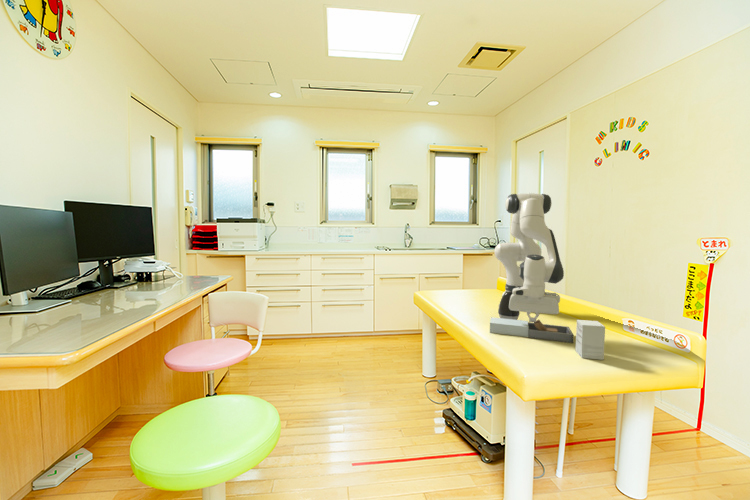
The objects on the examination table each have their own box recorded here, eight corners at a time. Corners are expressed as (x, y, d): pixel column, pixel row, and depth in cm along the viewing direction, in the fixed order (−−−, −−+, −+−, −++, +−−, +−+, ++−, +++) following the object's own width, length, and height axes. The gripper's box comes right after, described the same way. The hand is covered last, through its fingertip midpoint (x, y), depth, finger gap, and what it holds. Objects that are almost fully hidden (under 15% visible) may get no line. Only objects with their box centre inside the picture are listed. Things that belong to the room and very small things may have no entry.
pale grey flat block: (490, 326, 159) (490, 317, 159) (526, 330, 153) (527, 320, 153) (489, 332, 150) (489, 322, 149) (528, 337, 144) (528, 326, 143)
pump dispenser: (515, 318, 174) (516, 289, 172) (522, 323, 163) (523, 293, 162) (495, 317, 175) (496, 289, 173) (501, 323, 164) (502, 293, 163)
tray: (526, 329, 154) (527, 322, 154) (568, 334, 147) (568, 326, 147) (528, 337, 143) (528, 329, 142) (573, 343, 136) (573, 334, 136)
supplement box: (596, 353, 126) (598, 320, 125) (603, 360, 119) (605, 326, 118) (574, 350, 128) (576, 319, 127) (580, 358, 121) (582, 324, 120)
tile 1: (533, 322, 149) (538, 319, 148) (541, 330, 148) (545, 327, 147) (534, 325, 145) (539, 321, 144) (541, 333, 144) (546, 330, 143)
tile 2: (556, 328, 146) (556, 334, 146) (545, 327, 147) (544, 332, 147) (557, 331, 141) (557, 337, 142) (546, 330, 143) (545, 335, 143)
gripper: (559, 292, 145) (557, 322, 146) (509, 288, 153) (508, 317, 154) (561, 294, 139) (559, 326, 140) (509, 290, 147) (508, 321, 148)
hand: (532, 321), depth 147 cm, fingers closed
